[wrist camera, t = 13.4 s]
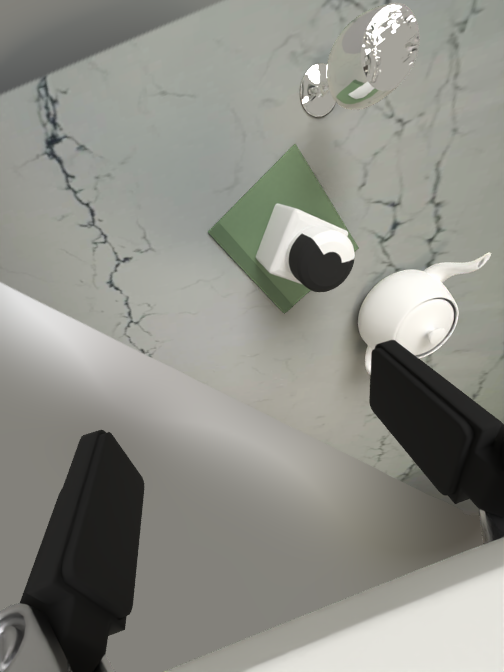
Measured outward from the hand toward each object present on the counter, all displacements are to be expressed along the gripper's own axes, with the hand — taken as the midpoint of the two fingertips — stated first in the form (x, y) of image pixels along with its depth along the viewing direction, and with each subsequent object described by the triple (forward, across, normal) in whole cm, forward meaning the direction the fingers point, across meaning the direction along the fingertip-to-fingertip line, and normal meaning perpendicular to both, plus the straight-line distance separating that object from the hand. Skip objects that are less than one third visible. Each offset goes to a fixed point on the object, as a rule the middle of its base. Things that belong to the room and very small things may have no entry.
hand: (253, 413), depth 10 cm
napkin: (+30, -12, +3) cm, 32 cm away
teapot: (+30, -28, +17) cm, 44 cm away
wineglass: (+30, -17, -12) cm, 37 cm away
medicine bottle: (+30, -11, +3) cm, 32 cm away
